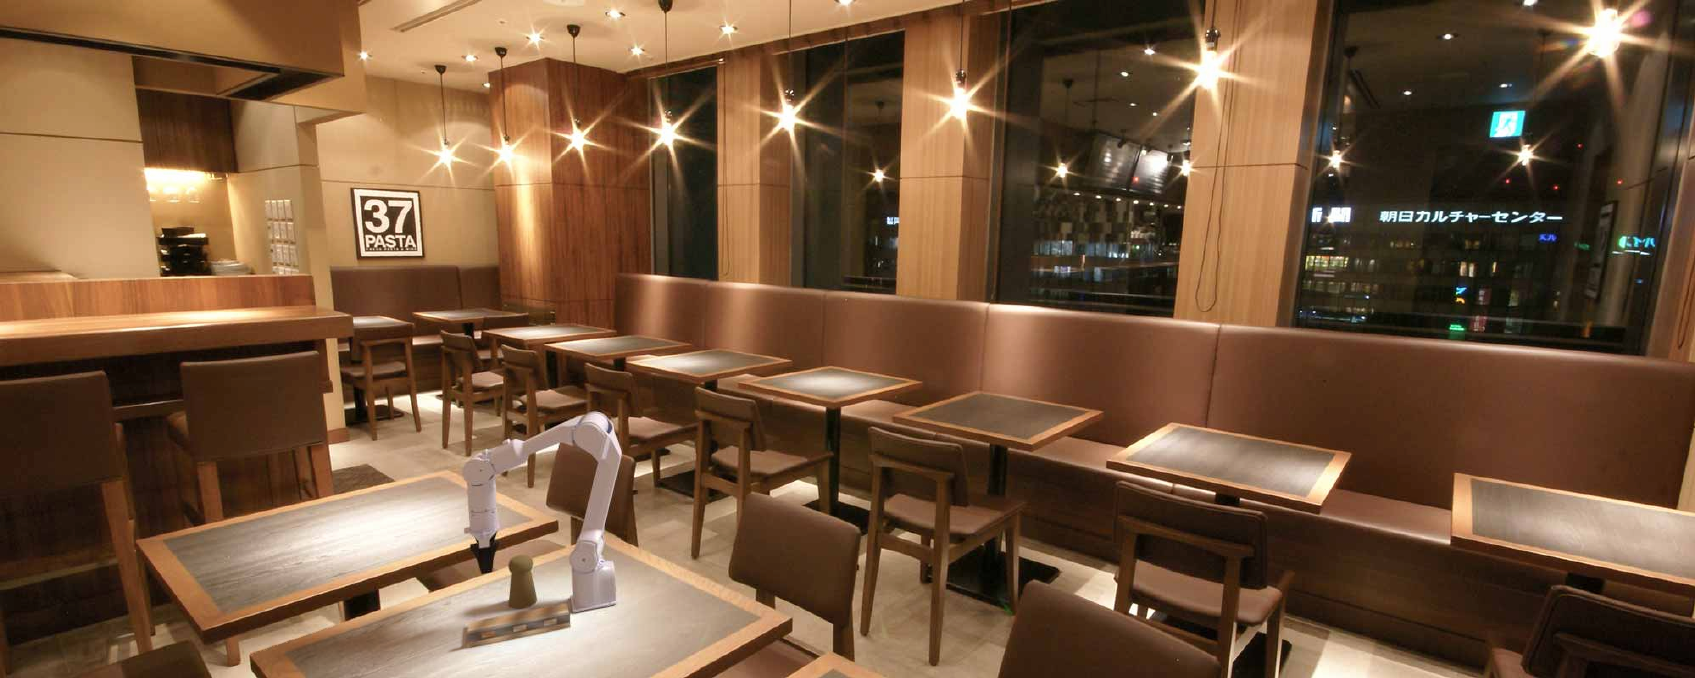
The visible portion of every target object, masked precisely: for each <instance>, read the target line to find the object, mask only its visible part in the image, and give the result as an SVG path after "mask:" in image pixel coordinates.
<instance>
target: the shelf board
mask: <svg viewBox="0 0 1695 678" xmlns="http://www.w3.org/2000/svg"><path fill="white" fill-rule="evenodd" d="M467 625H468V626H467V631H466V647H467V648H473V647H477V646H483V645H487V644H488V645H489V644H493V643H497V642H501V641H502V642H503V641H507V640H508V641H509V640H511V639H517V638H522V637H528V636H533V635H537V634H541V633H542V634H543V633H546V632H551V631H556V630H561V629H566V628H571V613H570V611H569V608H568V603H562V604H557V605H556V604H554V605H550V606H545V607H539V608H535V609H530V610H525V611H520V612H515V613H510V614H503V615H498V616H493V617H488V618H484V619H477V620H473V621H468V622H467Z"/></svg>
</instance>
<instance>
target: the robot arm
mask: <svg viewBox="0 0 1695 678" xmlns="http://www.w3.org/2000/svg"><path fill="white" fill-rule="evenodd" d="M510 439H511V438H508V439H505V440H504V441H502V442H501V445H498V446H496V447H494V448H491V449H488V448H486V449H484V450H482V451H481V452H480V453H476V454H474V456H472V457H471V458H470V459H469V460H468V461H466V463H464V465H463V466H462V469H461V475H462V478H463V480H464V481H465V482H466V489H467V490H466V493H467V506H468V508H467V509H468V520H469V526H468V527H465V528H464V529H463V533H464V535H467V534H470V535H471V536H473V538H474V539H475V543H470V545H469V549H470V551H471V553H472V554H473V556H474V557H475V559H476V562H477V565H478V569H479V571H480V573H481V575H484V574H485V575H486V574H491V573H493V569H494V562H495V556H496V552H497V550H498V548H499V546H500V541H498V540H497V541H495V539H496V537H497V534H498V532H499V530H500V523H499V515H498V502H497V500H498V499H497V485H496V476H498V475H500V474H503V473H505V472H508V471H510V470H512V469H514V468H517V467H519V466H521V465H523V464H526V463H527V461H528V459H529V457H530V455H532V454H535V453H537V452H540V451H543V450H545V449H548V448H550V447H553V446H555V445H558V444H560V443H563V444H565V445H568V446H570V447H571V446H573V447H574V445H575V444H576V445H577V446H578V447H579V448H581V449H582V450H584V451H586V452H587V453H588V454H590V455H592V456H593V458H594V459H595V460H596V461H597V466H596V470H595V475H594V479H593V484H592V485H591V486H592V488H591V489H590V495H589V499H588V503H587V506H586V512H585V516H584V519H583V524H582V528H581V530H580V533H579V536H578V537H577V540H576V543H575V545H574V548H573V550H572V551H571V552H570V554H569V559H568V560H569V564H570V566H571V583H572V584H571V585H572V586H571V587H572V594H570V596H569V598H570V603H571V609H572V612H573V613H579V612H584V611H589V610H594V609H599V608H605V607H610V606H614V605H617V585H616V583H617V582H616V572H615V571H616V570H615V564H614V561H612V560H605V558H604V557H603V555H602V552H603V550H604V548H605V545H606V544H605V543H606V541H605V537H604V532H605V526H606V525H605V524H606V520H607V516H608V513H609V507H610V504H611V500H612V497H613V491H614V489H615V484H616V480H617V476H618V471H619V468H620V465H621V464H620V463H621V459H622V454H623V453H622V449H621V446H620V442H619V440H618V437H617V435H616V432H615V428H614V423H613V422H612V421H611V420H610V419H609V417H607V416H606V415H605V414H604V413H601V412H599V411H591V412H587V413H586V414H585V415H584V416H583V415H579V416H575V417H574V418H571V419H569V420H567V421H564V422H562V423H560V424H558V425H556V426H554V427H552V428H549V429H547V430H544V431H542V432H541V433H539V434H537V435H535V436H533V437H530V438H528V439H526V440H521V439H517V438H516V439H515V438H514V439H512V440H510Z"/></svg>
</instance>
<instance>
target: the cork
mask: <svg viewBox="0 0 1695 678" xmlns="http://www.w3.org/2000/svg"><path fill="white" fill-rule="evenodd" d="M533 566H534V559H533V558H532V557H531V556H530V555H527V554H519V555H516V556H514V557H512V558H510V560H509V561H508V566H507V567H508V571H509V573H510V574H511V575H510V585H509V587H510V588H509V597H508V608H511V609H513V610H522V609H526V608H529V607H532V606H533V605H536V603H537V602H538V597H537V592H536V587H535V583H534V578H533V573H532V569H533Z"/></svg>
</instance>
